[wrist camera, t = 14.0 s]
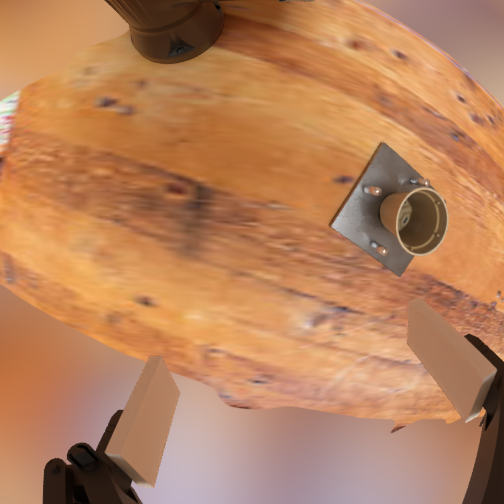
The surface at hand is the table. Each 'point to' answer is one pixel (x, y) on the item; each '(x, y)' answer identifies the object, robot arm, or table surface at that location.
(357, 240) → the plate
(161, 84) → the table surface
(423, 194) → the flower pot
